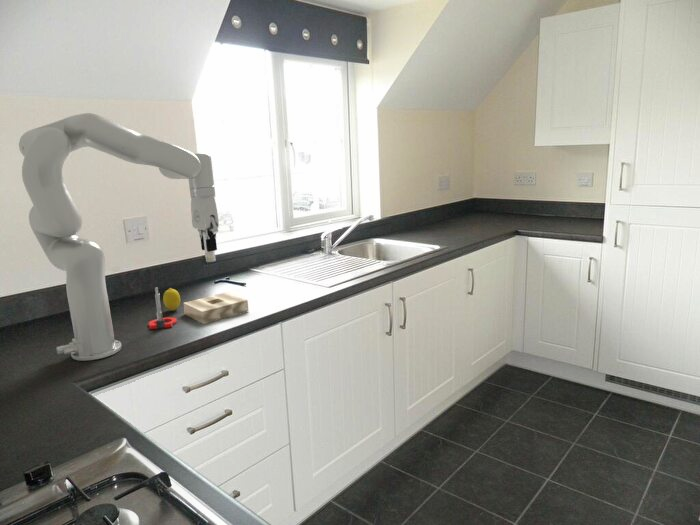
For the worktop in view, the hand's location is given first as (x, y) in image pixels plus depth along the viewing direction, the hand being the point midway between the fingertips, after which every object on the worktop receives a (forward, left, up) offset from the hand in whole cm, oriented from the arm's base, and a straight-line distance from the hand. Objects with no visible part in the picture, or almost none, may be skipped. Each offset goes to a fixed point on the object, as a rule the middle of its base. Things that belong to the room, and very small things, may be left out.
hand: (209, 249), depth 167 cm
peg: (0, 0, -4) cm, 4 cm away
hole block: (0, 0, -21) cm, 22 cm away
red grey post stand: (-17, +3, -22) cm, 28 cm away
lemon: (-9, +14, -22) cm, 27 cm away
